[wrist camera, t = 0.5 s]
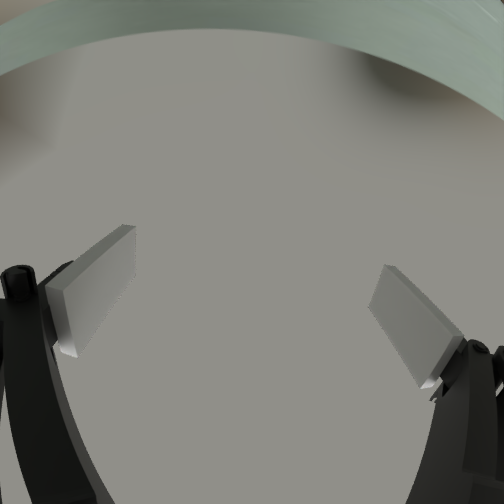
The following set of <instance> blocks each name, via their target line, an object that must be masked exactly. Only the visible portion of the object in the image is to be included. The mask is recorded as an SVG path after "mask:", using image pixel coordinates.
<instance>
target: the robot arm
mask: <svg viewBox="0 0 504 504" xmlns="http://www.w3.org/2000/svg"><path fill="white" fill-rule="evenodd" d="M135 242H136V226H130V225H123V224H122V225H121V226H120V227H118V228H117V229H115V230H114V231H113V232H111V233H110V234H109V235H107V236H106V237H105V238H103V239H102V240H101V241H99V242H98V243H96V244H95V245H94V246H93V247H91V248H90V249H89V250H88V251H86V252H85V253H84V254H82V255H81V256H80V257H79V258H77V259H76V260H75V261H70V262H67V263H65V264H63V265H61V266H60V267H59V268H57V269H56V271H54V272H52V273H51V274H50V276H48V277H46V278H45V279H44V280H43V281H42V282H41V283H39V284H38V285H37V283H36V278H35V272H34V269H33V268H32V267H30V266H27V265H16V266H12V267H10V268H8V269H6V270H5V271H4V272H2V274H1V276H0V279H1V283H2V287H3V291H4V296H5V299H0V419H1V408H2V400H3V393H4V387H5V392H6V400H7V408H8V415H9V421H10V427H11V432H12V437H13V442H14V446H15V450H16V454H17V458H18V461H19V465H20V468H21V472H22V475H23V478H24V481H25V484H26V487H27V490H28V493H29V496H30V498H31V502H32V504H115V503H114V501H113V499H112V498H111V496H110V495H109V493H108V491H107V489H106V487H105V486H104V484H103V482H102V480H101V478H100V476H99V474H98V473H97V471H96V469H95V467H94V465H93V463H92V461H91V458H90V456H89V454H88V452H87V450H86V447H85V446H84V443H83V441H82V438H81V436H80V433H79V431H78V428H77V426H76V423H75V421H74V418H73V415H72V412H71V409H70V407H69V403H68V400H67V397H66V394H65V391H64V387H63V384H62V381H61V377H60V374H59V370H58V366H57V362H56V358H55V353H54V350H53V347H52V346H53V345H54V344H55V342H56V341H57V340H58V343H59V347H60V350H61V352H62V353H65V354H68V355H70V356H73V357H76V358H78V357H79V356H80V354H81V353H82V351H83V350H84V348H85V347H86V345H87V344H88V342H89V341H90V339H91V338H92V336H93V335H94V333H95V332H96V330H97V329H98V327H99V326H100V324H101V323H102V321H103V320H104V318H105V317H106V316H107V314H108V313H109V311H110V310H111V308H112V307H113V306H114V304H115V303H116V302H117V300H118V299H119V297H120V296H121V295H122V293H123V292H124V291H125V289H126V288H127V286H128V285H129V284H130V282H131V281H132V280H133V278H134V277H135V244H136V243H135ZM368 308H369V309H370V311H371V312H372V314H373V315H374V317H375V318H376V320H377V321H378V323H379V324H380V326H381V327H382V329H383V330H384V332H385V333H386V335H387V336H388V338H389V339H390V341H391V342H392V344H393V346H394V347H395V349H396V350H397V352H398V353H399V355H400V356H401V358H402V360H403V361H404V363H405V365H406V366H407V367H408V369H409V371H410V373H411V374H412V376H413V378H414V379H415V381H416V383H417V384H418V386H419V388H420V389H422V388H429V387H432V386H433V385H434V384H435V382H436V381H437V379H438V378H439V376H440V377H441V379H442V380H443V382H442V383H441V385H440V386H439V387H438V389H437V390H436V391H435V393H434V394H433V396H432V397H431V398H430V401H432V400H433V398H436V397H437V399H436V400H435V403H436V405H435V410H434V415H433V419H432V424H431V428H430V432H429V436H428V440H427V444H426V448H425V451H424V454H423V457H422V460H421V464H420V467H419V470H418V473H417V476H416V479H415V481H414V484H413V486H412V489H411V492H410V494H409V497H408V499H407V501H406V504H504V387H503V389H502V390H501V392H500V393H499V394H498V395H497V396H496V390H497V389H498V387H499V386H500V385H501V383H502V382H503V384H504V346H499V347H498V349H497V350H496V352H495V354H494V355H493V354H490V352H489V349H488V348H487V347H486V346H485V345H484V344H483V343H482V342H479V341H477V340H473V339H471V340H469V341H468V342H467V341H466V339H465V338H464V335H463V334H462V332H461V331H460V330H459V329H458V328H457V327H456V326H455V325H454V324H453V323H452V322H451V321H450V320H449V319H448V318H447V316H446V315H445V314H444V313H443V312H442V311H441V310H440V309H439V308H437V306H436V305H435V304H434V303H433V302H432V301H431V300H430V299H429V298H428V297H427V296H426V295H425V294H424V293H422V292H421V291H420V289H419V288H417V287H416V286H415V285H414V284H413V283H412V282H411V281H410V280H409V279H408V278H407V277H406V276H405V275H404V274H403V273H402V272H401V271H399V270H398V269H397V268H396V267H395V266H390V265H384V267H383V270H382V273H381V275H380V278H379V281H378V284H377V286H376V289H375V292H374V294H373V297H372V300H371V302H370V305H369V307H368ZM0 504H2V498H1V488H0Z"/></svg>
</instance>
